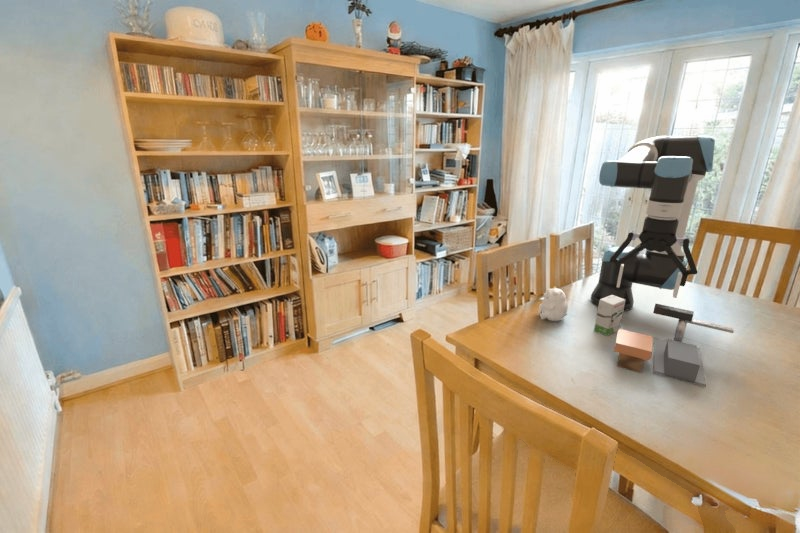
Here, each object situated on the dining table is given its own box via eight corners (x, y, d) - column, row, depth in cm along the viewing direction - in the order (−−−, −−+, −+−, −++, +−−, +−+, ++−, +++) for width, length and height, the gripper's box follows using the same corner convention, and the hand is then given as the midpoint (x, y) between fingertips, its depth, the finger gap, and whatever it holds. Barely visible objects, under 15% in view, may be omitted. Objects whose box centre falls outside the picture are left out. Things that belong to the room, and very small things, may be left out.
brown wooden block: (616, 366, 110) (619, 354, 109) (620, 348, 120) (622, 337, 119) (640, 372, 107) (643, 360, 106) (642, 353, 117) (644, 342, 115)
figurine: (562, 313, 144) (566, 284, 140) (570, 325, 135) (575, 294, 131) (535, 312, 145) (539, 283, 141) (542, 324, 136) (545, 293, 132)
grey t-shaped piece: (725, 357, 112) (736, 324, 109) (647, 337, 124) (654, 306, 120) (725, 353, 114) (735, 320, 111) (648, 333, 126) (655, 303, 122)
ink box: (607, 336, 127) (613, 304, 123) (592, 330, 131) (598, 299, 127) (620, 329, 131) (626, 298, 127) (606, 323, 135) (612, 293, 131)
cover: (613, 351, 111) (615, 342, 110) (616, 337, 118) (618, 328, 118) (649, 360, 106) (652, 351, 105) (650, 345, 114) (652, 336, 113)
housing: (653, 372, 107) (657, 354, 105) (654, 338, 126) (658, 322, 124) (705, 387, 101) (711, 368, 99) (698, 348, 119) (703, 331, 117)
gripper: (607, 214, 103) (595, 286, 110) (724, 225, 90) (701, 305, 97) (610, 210, 109) (598, 278, 116) (720, 219, 96) (699, 295, 103)
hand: (645, 291), depth 106 cm, fingers open, 13 cm apart
